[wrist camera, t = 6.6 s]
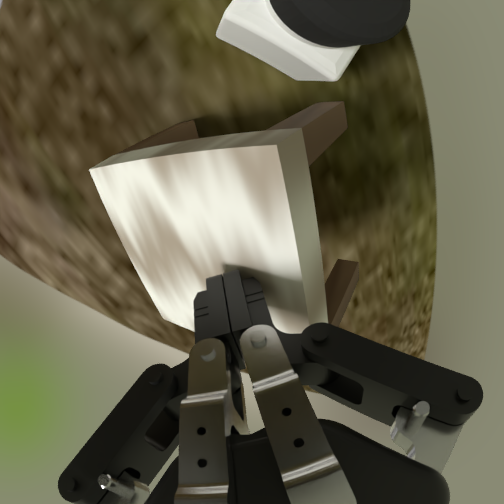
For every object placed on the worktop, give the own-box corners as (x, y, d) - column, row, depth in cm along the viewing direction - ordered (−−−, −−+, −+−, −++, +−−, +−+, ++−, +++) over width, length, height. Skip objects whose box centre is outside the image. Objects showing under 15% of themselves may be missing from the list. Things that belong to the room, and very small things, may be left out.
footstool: (89, 169, 15) (276, 144, 9) (179, 123, 20) (343, 101, 14) (163, 318, 22) (316, 373, 15) (222, 255, 27) (358, 278, 20)
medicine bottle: (297, 82, 20) (389, 89, 10) (213, 36, 17) (233, -14, 7) (340, 16, 17) (447, -11, 7) (262, -32, 14) (322, -108, 4)
